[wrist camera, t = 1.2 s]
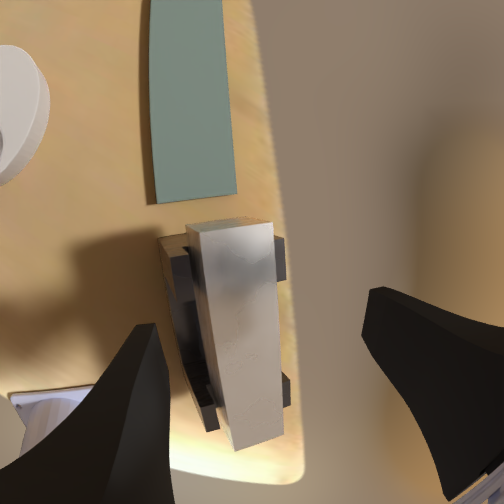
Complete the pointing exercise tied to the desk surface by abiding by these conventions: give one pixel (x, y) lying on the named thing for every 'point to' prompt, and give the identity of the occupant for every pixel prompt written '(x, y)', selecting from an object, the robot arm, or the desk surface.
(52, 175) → the desk surface
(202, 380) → the dark grey slotted rack
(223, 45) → the rubber mat
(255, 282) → the silver rail
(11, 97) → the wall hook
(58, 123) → the desk surface
